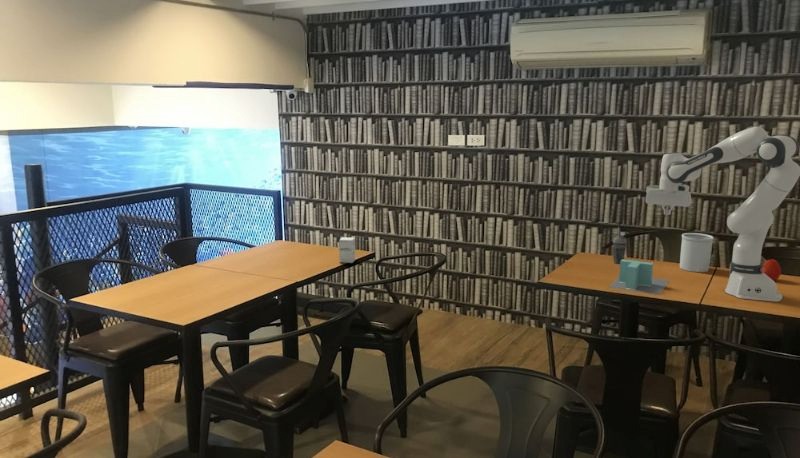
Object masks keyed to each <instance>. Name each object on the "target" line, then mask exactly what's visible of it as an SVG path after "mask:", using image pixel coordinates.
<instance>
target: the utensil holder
mask: <svg viewBox="0 0 800 458" xmlns="http://www.w3.org/2000/svg"><path fill="white" fill-rule="evenodd" d="M714 238H715V237H714V236H713V235H709V234H706V233H697V232H686V233H685V232H684V233H682V234H681V246H680V257H679V258H680V259H679V268H680V269H681V270H684V271H688V272H692V273H693V272H694V273H706V272H708V271H710V270H709V269H710V263H711V257H712V256H711V255H712V249H713V241H714Z"/></svg>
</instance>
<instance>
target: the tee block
mask: <svg viewBox="0 0 800 458" xmlns="http://www.w3.org/2000/svg"><path fill="white" fill-rule="evenodd" d="M653 272H654V262H648V261H641V260H631V259H630V260H629V259H625V258H624V259H622V260H621V261H620V264H619V273H618V274H619V275H618V277H619V282H626V288H631V289H635V288H636V287H637V286H638V285H639V284H640V285H648V286H650V285H651V284H652V278H653Z"/></svg>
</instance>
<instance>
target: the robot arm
mask: <svg viewBox="0 0 800 458" xmlns="http://www.w3.org/2000/svg"><path fill="white" fill-rule="evenodd" d="M798 150H799V142H798V141H797V140H796V139H795V137H793V136H791V135H787V134H786V135H785V134H773V135H771V136H770V135H768V133H767V131H766V130H765V129H764V128H763V127H761V126H751V127H748V128H745V129H743V130H740V131H739V132H736V133H734V134H731V135H730V136H728V137H727V138H725V139H724V140H722V141H720V142H719V143H716V144H715V145H713V146H712V147H711V148H709V149H707V150H705V151H703V152H701V153H698V154H697V155H694V156H692V157H690V158H688V157H686V156H684V155H683V154H682V153H681V152H679V151H676V152H675V151H674V152H667V153H665V154H663V156H662V159H661V164H660V174H661V175H660V178H659V184H655V185H654V184H649V185H648V186H646V189H645V192H646V195H645V203H646V204H647V205H661V209H662V211H663V215H667V216H668V215H672V214H671V213H672V212H671V211H672V210H673V209H674V207H685V208H687V207H690V206H691V204H692V196H691V195H692V194H691V192H690V186H689V185H687V184H685V182H692V181H695V180H697V179H699V178H700V176H701V175H702V169H703V168H705V167H708V166H712V165H716V164H723V163H732V162H735V161H740V160H741V159H744V158H747V157H749V156H751V155H753V154H755V153H756V156H757V157H758V159H759V160H760V161H762V163H764V165H766V167H768V168H770V169H769V171H768V173H767V174H766V175H765V177H764V178H763V179H762V181H761V182H760V183H759V185H758V186H757V187H756V189H755V190H754V192H753V193H752V194H751V195H749V196H748V198H747V199H746V200H744V201H743V202H742V204H741V205H740V206H738V208H736V209H735V210H734V211H733V212H731V213H730V214H729V215H728V216H727V220H726V225H727V227H728V229H729V230H730V231H731V232H732V233H733V234H738V237H737V239H736V240H735V242H734V243H733V248H732V256H731V261H730V264H729V278H728V282H727V285H726V287H725V290H724V292H725V293H727V295H731V296H734V297H736V298H739V299H741V300H742V299H745V300H755V301H764V302H775V303H776V302H777V303H778V302H782V301H783V294H781V293H780V292H779V291H778V285H777V283H776V282H775V281H773V280H772V279H771V278H769V277H768V276H767V275H766V274H765V273H764V272H765V271H766V269H765V267H764V265H763V264H762V263H761V258H762V250H763V245H764V243H765V240H766V237H767V234H768V231H769V229H770V227H771V226H772V225H773V222H774V220H775V219H774V217H775V216H774V214H773V211H774V210H775V209H777V208H778V207H779V206H780V205H781V204H782V203H783V201H784V200H785V198H786V197H787V196H788V195H789V193H790V192H791V191H792V189H794V186H795V185H796V183H797V181H798V180H799V178H800V165H799V164H798V163H797V162H796V161H794V160H793V158H794V157H795V155H796V154H797V153H798ZM666 206H669V208H670V209H669V210H667V209H666V208H665V207H666Z"/></svg>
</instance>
